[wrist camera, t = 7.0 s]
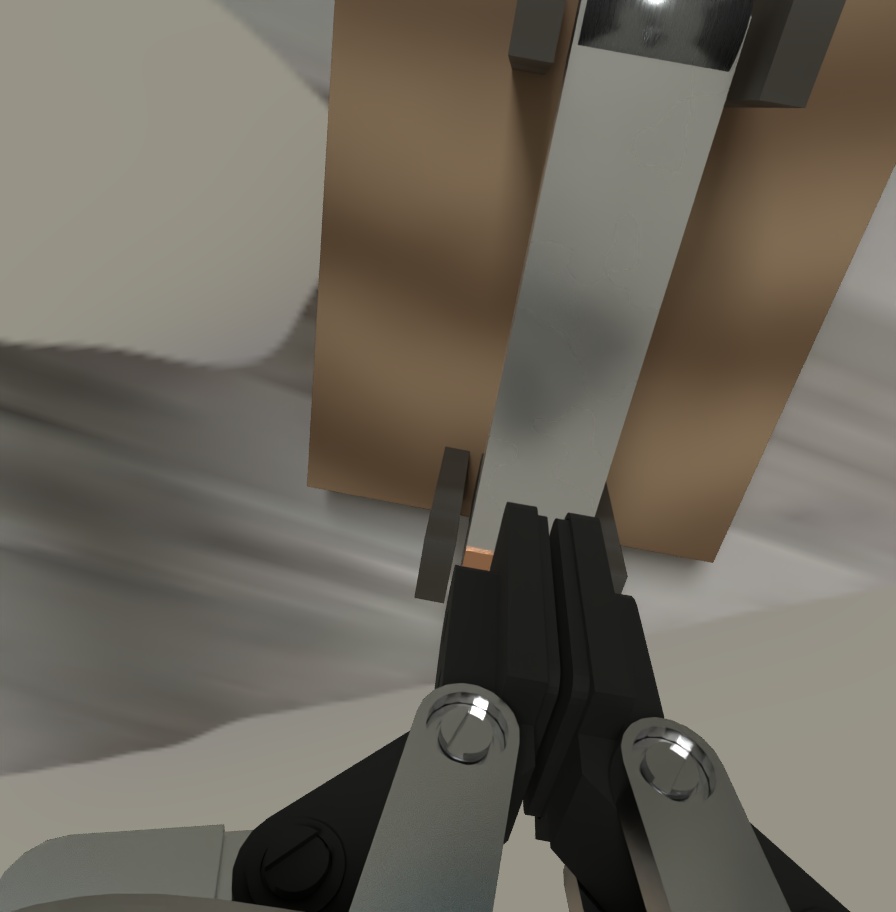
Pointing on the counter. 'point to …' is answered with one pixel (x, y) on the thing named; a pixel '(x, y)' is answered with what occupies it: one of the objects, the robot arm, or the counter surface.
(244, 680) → the counter surface
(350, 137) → the clamp board
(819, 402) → the counter surface
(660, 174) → the strap
